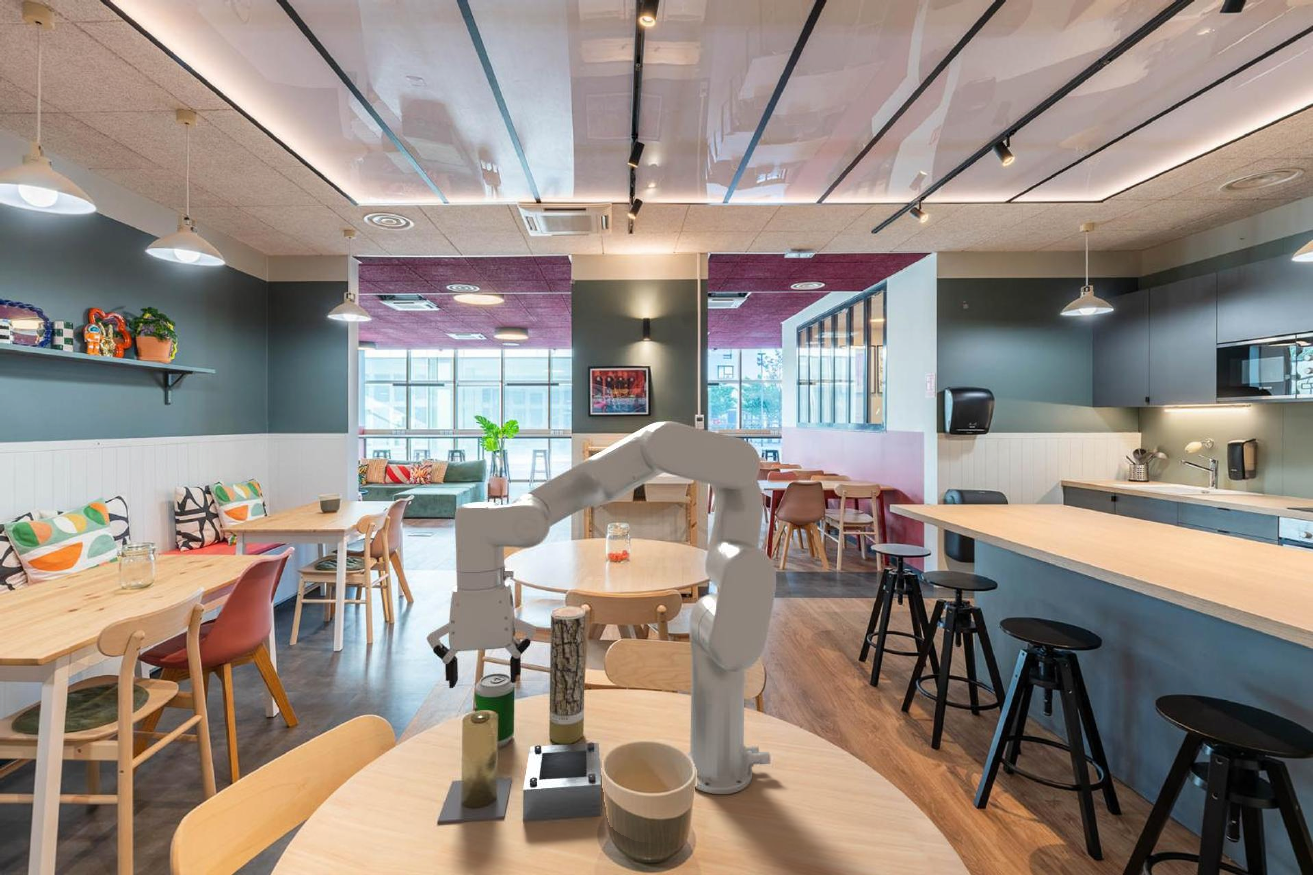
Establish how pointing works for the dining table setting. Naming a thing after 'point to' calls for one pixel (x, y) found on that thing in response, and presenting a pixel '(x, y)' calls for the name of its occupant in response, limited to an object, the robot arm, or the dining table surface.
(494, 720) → the tan cylinder
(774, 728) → the dining table surface
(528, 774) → the housing
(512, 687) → the soda can
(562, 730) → the paper tube
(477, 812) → the rubber mat
